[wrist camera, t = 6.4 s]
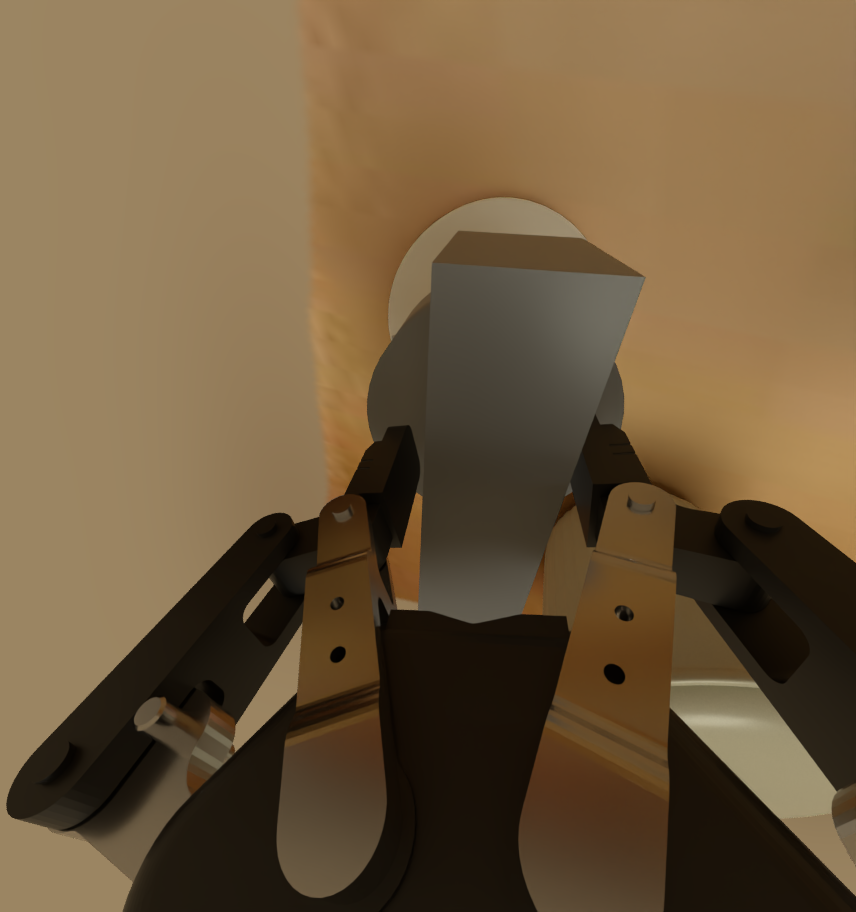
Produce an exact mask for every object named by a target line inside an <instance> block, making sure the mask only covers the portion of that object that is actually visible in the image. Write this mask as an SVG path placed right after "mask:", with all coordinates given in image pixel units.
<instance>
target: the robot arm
mask: <svg viewBox="0 0 856 912" xmlns="http://www.w3.org/2000/svg"><path fill="white" fill-rule="evenodd" d="M419 478H420V461H419V456H418V452H417V449H416V445H415V441H414V437H413V433H412V429H411V427H410V426H409V425H402V426H391V427H388V428H387V430H386V432H385V434H384V437H383V439H382V441H375V442H374V443H373V444H372V445H371V446H370V447H369V448H368V449H367V450H366V451H365V453H364V455H363V457H362V459H361V462H360V463H359V465H358V467H357V470H356V472H355V474H354V476H353V478H352V480H351V482H350V484H349V486H348V488H347V490H346V492H345V494H344V495H342V496H339V497H337V498H334V499H333V500H331V501H330V502H328V503H327V504H326V505H325V506H324V507H323V509H322V510H321V512H320V514H319V517H317V518H314V519H310V520H307V521H303V522H299V523H296V524H294V522H293V520H292V519H291V517H290V516H289V515H288V514H285V513H274V514H271V515H268V516H265V517H263V518H261V519H260V520H258V521H257V522H255V523H254V524H253V525H252V526H251V527H250V528H249V529H248V530H247V531H246V532H245V533H244V534H243V535H242V536H241V537H240V538H239V539H238V540H237V541H236V543H235V544H233V546H232V547H231V548H230V549H229V550H228V551H227V552H226V553H225V554H224V555H223V556H222V557H221V558H220V559H219V560H218V561H217V562H216V563H215V564H214V565H213V566H212V567H211V568H210V570H209V571H208V572H207V573H206V574H205V575H204V576H203V577H202V578H201V579H200V580H199V581H198V582H197V583H196V584H195V585H194V586H193V587H192V588H191V589H190V590H189V592H187V593H186V595H185V596H184V597H183V598H182V599H181V600H180V601H179V602H178V603H177V604H176V605H175V606H174V607H173V608H172V609H171V610H170V611H169V612H168V613H167V614H166V615H165V616H164V618H162V619H161V621H160V622H159V623H158V624H157V625H156V626H155V627H154V628H153V629H152V630H151V631H150V632H149V633H148V634H147V635H146V636H145V637H144V638H143V639H142V640H141V641H140V642H139V643H138V645H137V646H136V647H135V648H134V649H133V650H132V651H131V652H130V653H129V654H128V655H127V656H126V657H125V658H124V659H123V660H122V661H121V662H120V663H119V664H118V665H117V666H116V667H115V668H114V670H113V671H112V672H111V673H110V674H109V675H108V676H107V677H106V678H105V679H104V680H103V681H102V682H101V683H100V684H99V685H98V686H97V687H96V688H95V689H94V690H93V691H92V693H91V694H90V695H89V696H88V697H87V698H86V699H85V700H84V701H83V702H82V703H81V704H80V705H79V706H78V707H77V708H76V709H75V710H74V711H73V712H72V713H71V714H70V715H69V716H68V717H67V719H66V720H65V721H64V722H63V723H62V724H61V725H60V726H59V727H58V728H57V729H56V730H55V731H54V732H53V733H52V734H51V735H50V736H49V737H48V738H47V739H46V740H45V741H44V742H43V743H42V745H41V746H40V747H39V748H38V749H37V750H36V751H35V752H34V753H33V755H31V757H30V758H29V759H28V760H27V762H26V763H25V764H24V766H23V767H22V768H21V770H20V771H19V773H18V775H17V776H16V778H15V780H14V782H13V784H12V786H11V788H10V791H9V794H8V797H7V803H6V804H7V805H6V806H7V812H8V814H9V815H10V816H11V817H12V818H15V819H18V820H22V821H26V822H29V823H33V824H37V825H40V826H44V827H48V829H49V830H50V831H51V832H54V833H57V834H60V835H64V836H68V837H72V838H76V839H80V840H84V841H87V842H89V843H90V844H91V845H92V846H93V847H95V848H96V849H97V850H98V851H99V852H100V853H101V854H102V855H104V856H105V857H106V858H107V859H108V860H109V861H110V862H111V863H112V864H114V865H115V866H116V867H117V868H118V869H119V870H120V871H121V872H123V873H124V874H125V875H126V876H127V877H128V878H129V879H130V880H132V881H133V884H132V887H131V890H130V892H129V894H128V897H127V900H126V903H125V906H124V909H123V912H856V896H855V895H854V894H853V893H852V892H851V891H850V890H849V889H848V888H847V887H846V886H845V885H844V884H843V883H842V882H841V881H840V880H839V879H838V878H837V877H836V876H835V875H834V874H833V873H832V872H831V871H830V870H829V869H828V868H827V867H826V866H825V865H824V864H823V863H822V862H821V861H820V860H819V859H818V858H817V857H816V856H815V855H814V854H813V853H812V851H810V849H808V848H807V846H806V845H805V844H804V843H803V842H802V841H801V840H800V839H799V838H798V837H797V836H796V835H795V834H794V833H793V832H792V831H791V830H790V829H789V828H788V827H787V826H786V825H785V824H784V823H783V822H782V821H781V820H780V819H779V818H778V817H777V816H776V815H775V814H774V813H773V812H772V811H771V810H770V809H769V808H768V807H767V806H766V805H765V804H764V803H763V802H762V801H761V800H760V799H759V798H758V796H757V795H756V794H755V793H754V792H753V791H752V790H751V789H750V788H749V787H748V786H747V785H746V784H745V783H744V782H743V781H742V780H741V779H740V778H739V777H738V776H737V775H736V774H735V773H734V772H733V771H732V770H731V769H730V768H729V767H728V766H727V765H726V764H725V763H724V762H723V761H722V760H721V759H720V758H719V757H718V756H717V755H716V754H715V753H714V752H713V751H712V750H711V749H710V748H709V747H708V746H707V745H706V744H705V743H704V742H703V740H702V739H701V738H700V737H699V736H698V735H697V734H696V733H695V732H694V731H693V730H692V729H691V728H690V727H689V726H688V725H687V724H686V723H685V722H684V721H683V720H682V719H681V718H680V717H679V716H678V715H677V714H676V713H675V712H674V711H673V710H672V709H671V708H670V691H671V672H672V654H673V636H674V617H675V599H676V594H677V595H681V596H685V597H688V598H692V599H694V600H695V602H696V603H697V605H698V606H699V607H700V609H701V610H702V611H703V613H704V614H705V615H706V617H707V618H708V619H709V621H710V622H711V624H712V625H713V626H714V628H715V629H716V630H717V632H718V633H719V634H720V636H721V637H722V638H723V640H724V641H725V642H726V644H727V645H728V646H729V648H730V649H731V650H732V652H733V653H734V654H735V656H736V657H737V658H738V660H739V661H740V662H741V664H742V665H743V666H744V668H745V669H746V671H747V672H748V673H749V675H750V676H751V677H752V679H753V680H754V681H755V683H756V684H757V685H758V687H759V688H760V689H761V691H762V692H763V693H764V695H765V696H766V697H767V699H768V700H769V701H770V703H771V704H772V705H773V707H774V708H775V709H776V711H777V712H778V713H779V715H780V716H781V717H782V719H783V720H784V722H785V723H786V724H787V726H788V727H789V728H790V730H791V731H792V732H793V734H794V735H795V736H796V738H797V739H798V740H799V742H800V743H801V744H802V746H803V747H804V748H805V750H806V751H807V752H808V754H809V755H810V756H811V758H812V759H813V760H814V762H815V763H816V764H817V766H818V767H819V768H820V770H821V771H822V773H823V774H824V775H825V777H826V778H827V779H828V781H829V782H830V783H831V785H832V786H833V787H834V789H835V790H836V791H837V793H836V794H835V795H834V798H833V800H832V808H831V810H832V817H833V821H834V825H835V828H836V830H837V833H838V835H839V837H840V839H841V841H842V843H843V845H844V846H845V848H846V850H847V852H848V854H849V856H850V858H851V859H852V861H853V862H854V864H855V866H856V563H855V562H854V561H853V560H851V559H850V558H849V557H847V556H846V555H845V554H844V553H842V552H841V551H840V550H838V549H837V548H836V547H835V546H833V545H832V544H831V543H830V542H828V541H827V540H826V539H824V538H823V537H822V536H821V535H819V534H818V533H817V532H816V531H814V530H813V529H812V528H810V527H809V526H808V525H807V524H805V523H804V522H803V521H801V520H800V519H799V518H798V517H796V516H795V515H793V514H792V513H790V512H789V511H787V510H785V509H783V508H780V507H778V506H775V505H773V504H769V503H766V502H761V501H754V500H739V501H734V502H731V503H729V504H727V505H725V506H724V507H723V509H722V511H721V513H720V514H717V513H712V512H706V511H701V510H695V509H690V508H686V507H682V506H679V505H677V504H675V501H674V500H673V498H672V497H671V496H670V495H669V494H668V493H667V492H666V491H664V490H662V489H661V488H659V487H656V486H654V485H652V484H651V482H650V480H649V478H648V476H647V474H646V472H645V470H644V468H643V466H642V464H641V463H640V461H639V459H638V457H637V455H636V454H635V451H634V449H633V447H632V445H630V442H629V440H628V438H627V436H626V434H625V432H624V431H622V430H621V429H619V428H618V427H616V426H615V425H614V424H601V425H600V423H599V421H598V419H597V416H596V414H595V416H594V418H593V421H592V424H591V427H590V429H589V432H588V435H587V437H586V440H585V443H584V445H583V448H582V451H581V454H580V456H579V459H578V462H577V464H576V467H575V470H574V473H573V475H572V478H571V481H570V483H571V487H572V491H573V495H574V499H575V503H576V507H577V511H578V515H579V519H580V523H581V527H582V531H583V535H584V539H585V543H586V547H596V548H595V550H593V552H592V554H591V558H590V562H589V565H588V569H587V573H586V577H585V581H584V585H583V588H582V592H581V596H580V600H579V604H578V608H577V611H576V615H575V619H574V623H573V627H572V630H571V631H569V629H568V622H567V616H553V615H526V614H518V615H514V616H509V617H504V618H499V619H495V620H490V621H485V622H480V623H468V622H465V621H461V620H458V619H455V618H452V617H448V616H445V615H442V614H439V613H435V612H432V611H419V610H397V605H396V599H395V593H394V587H393V581H392V575H391V569H390V563H389V560H388V558H387V556H388V552H389V549H390V548H402V544H403V540H404V536H405V532H406V529H407V525H408V521H409V517H410V513H411V509H412V505H413V502H414V498H415V494H416V490H417V486H418V482H419ZM268 578H270V580H271V581H272V582H273V584H274V586H273V587H272V588H271V590H270V591H269V592H268V593H267V595H266V596H265V597H264V599H263V600H262V601H261V602H260V604H259V605H258V606H257V608H256V609H255V610H254V612H253V613H252V614H251V615H250V617H249V618H248V619H247V621H246V622H245V623H243V613H244V610H245V608H246V606H247V605H248V603H249V602H250V600H251V599H252V598H253V597H254V596H255V594H256V593H257V592H258V591H259V589H260V588H261V587H262V586H263V584H264V583H265V582H266V581H267V579H268ZM301 624H302V636H301V649H300V662H299V677H298V689H297V693H296V694H295V695H294V696H293V697H292V698H291V699H290V700H289V701H288V702H287V703H286V704H285V705H284V706H283V707H282V708H281V709H280V710H279V711H277V712H276V713H275V714H274V715H273V716H272V717H271V718H270V719H269V720H268V721H267V722H266V723H265V724H264V725H263V726H262V727H261V728H260V729H259V730H258V731H257V732H256V733H255V734H254V735H253V736H252V737H251V738H250V739H249V740H248V741H247V742H246V743H245V744H244V745H243V746H242V747H241V748H240V749H239V750H237V751H236V752H235V748H234V745H233V744H232V743H233V740H234V736H235V725H236V724H237V722H238V721H239V719H240V717H241V716H242V715H243V713H244V711H245V710H246V708H247V707H248V705H249V704H250V702H251V701H252V699H253V697H254V696H255V695H256V693H257V691H258V690H259V688H260V687H261V685H262V684H263V682H264V681H265V679H266V678H267V676H268V675H269V673H270V671H271V670H272V668H273V667H274V665H275V664H276V662H277V661H278V659H279V657H280V656H281V654H282V653H283V651H284V650H285V648H286V647H287V645H288V644H289V642H290V640H291V639H292V638H293V636H294V634H295V633H296V631H297V630H298V628H299V627H300V625H301Z"/></svg>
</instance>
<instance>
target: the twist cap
mask: <svg viewBox="0 0 856 912" xmlns="http://www.w3.org/2000/svg"><path fill="white" fill-rule="evenodd" d="M645 278H646V277H644V276H643V275H641V274H639V273H638V272H636V271H635V270H633V269H631V268H630V267H628V266H626V265H625V264H623V263H622V262H620V261H618V260H617V259H615V258H614V257H612V256H610V255H609V254H607V253H605V252H604V251H602V250H601V249H599V248H597V247H596V246H594V245H593V244H591V243H589V242H588V241H586V240H584V239H583V238H574V237H557V236H541V235H524V234H507V233H491V232H474V231H458V232H457V233H456V234H455V235H454V236H453V238H452V239H451V240H450V241H449V243H448V244H447V245H446V246H445V247H444V249H443V250H442V251H441V252H440V253H439V255H438V256H437V257H436V258H435V259H434V261H433V262H432V272H431V292H430V293H429V294H428V295H427V296H426V297H424V298H423V299H422V300H421V301H420V302H419V303H418V304H417V306H416V307H415V308H414V309H413V310H412V311H411V313H410V314H409V316H408V317H407V319H406V320H405V322H404V323H403V325H402V326H401V328H400V329H399V331H398V332H397V334H396V335H395V337H394V338H393V340H392V341H391V343H390V344H389V345H388V347H387V348H386V350H385V351H384V353H383V354H382V356H381V357H380V359H379V362H378V364H377V366H376V368H375V370H374V372H373V375H372V379H371V382H370V385H369V392H368V398H367V415H368V422H369V428H370V431H371V434H372V438H373V441H374V442H375V441H382V439H383V437H384V434H385V432H386V430H387V428H388V427H391V426H402V425H409V426H410V427H411V429H412V433H413V437H414V441H415V445H416V449H417V452H418V456H419V461H420V478H419V482H418V486H417V490H416V492H417V493H418V494H420V495H421V496H423V502H422V528H421V553H420V579H419V604H418V610H419V611H432V612H435V613H439V614H442V615H445V616H448V617H452V618H455V619H458V620H461V621H465V622H468V623H480V622H485V621H490V620H495V619H499V618H504V617H509V616H514V615H518V614H521V613H522V611H523V608H524V605H525V603H526V600H527V597H528V594H529V592H530V589H531V586H532V584H533V581H534V578H535V576H536V573H537V570H538V567H539V565H540V562H541V559H542V557H543V554H544V551H545V548H546V546H547V543H548V540H549V538H550V535H551V532H552V529H553V527H554V524H555V521H556V519H557V516H558V513H559V511H560V508H561V505H562V502H563V500H564V497H565V496H567V495H568V494H570V493H571V492H573V491H572V487H571V483H570V481H571V478H572V475H573V473H574V470H575V467H576V464H577V462H578V459H579V456H580V454H581V451H582V448H583V445H584V443H585V440H586V437H587V435H588V432H589V429H590V427H591V424H592V421H593V418H594V416H595V414H596V416H597V419H598V421H599V423H600V425H601V424H614V425H615V426H616V427H618V428H619V429H621V425H622V420H623V414H624V393H623V386H622V380H621V377H620V374H619V371H618V368H617V365H616V363H615V359H616V356H617V353H618V351H619V348H620V345H621V343H622V340H623V337H624V334H625V332H626V329H627V326H628V324H629V321H630V318H631V315H632V313H633V310H634V307H635V305H636V302H637V299H638V297H639V294H640V291H641V288H642V286H643V283H644V280H645Z"/></svg>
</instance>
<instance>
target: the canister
mask: <svg viewBox="0 0 856 912" xmlns="http://www.w3.org/2000/svg"><path fill="white" fill-rule="evenodd" d="M669 495H670V496H671V497H672V498H673V500H674V501H675V504H677V505H679V506H682V507H686V508H690V509H695V510H701V509H699V508H697V507H696V506H694V505H693V504H691V503H690V502H688V501H686V500H684V499H681V498H678V497H676V496H675V495H672V494H669ZM701 511H702V510H701ZM595 548H596V547H586V543H585V539H584V535H583V531H582V527H581V523H580V519H579V515H578V511H577V507H576V505H575V506H574V507H573V508H572V509H571V510H570V511H567V512H566V513H565V514H564V516H563V517H562V518H560V519H559V520H558V521H557V523H556V525H555V526H554V527H553V529H552V532H551V535H550V538H549V540H548V543H547V546H546V552H545V560H544V583H543V615H553V616H567V622H568V629H569V631H571V630H572V627H573V623H574V619H575V615H576V611H577V608H578V604H579V600H580V596H581V592H582V588H583V585H584V581H585V577H586V573H587V569H588V565H589V562H590V558H591V554H592V552H593V550H595ZM670 708H671V709H672V710H673V711H674V712H675V713H676V714H677V715H678V716H679V717H680V718H681V719H682V720H683V721H684V722H685V723H686V724H687V725H688V726H689V727H690V728H691V729H692V730H693V731H694V732H695V733H696V734H697V735H698V736H699V737H700V738H701V739H702V740H703V742H704V743H705V744H706V745H707V746H708V747H709V748H710V749H711V750H712V751H713V752H714V753H715V754H716V755H717V756H718V757H719V758H720V759H721V760H722V761H723V762H724V763H725V764H726V765H727V766H728V767H729V768H730V769H731V770H732V771H733V772H734V773H735V774H736V775H737V776H738V777H739V778H740V779H741V780H742V781H743V782H744V783H745V784H746V785H747V786H748V787H749V788H750V789H751V790H752V791H753V792H754V793H755V794H756V795H757V796H758V798H759V799H760V800H761V801H762V802H763V803H764V804H765V805H766V806H767V807H768V808H769V809H770V810H771V811H772V812H773V813H774V814H775V815H776V816H777V817H778V818H796V817H807V816H816V815H823V814H830V813H832V810H831V808H832V800H833V798H834V795H835V794H836V793H837V791H836V790H835V789H834V787H833V786H832V785H831V783H830V782H829V781H828V779H827V778H826V777H825V775H824V774H823V773H822V771H821V770H820V768H819V767H818V766H817V764H816V763H815V762H814V760H813V759H812V758H811V756H810V755H809V754H808V752H807V751H806V750H805V748H804V747H803V746H802V744H801V743H800V742H799V740H798V739H797V738H796V736H795V735H794V734H793V732H792V731H791V730H790V728H789V727H788V726H787V724H786V723H785V722H784V720H783V719H782V717H781V716H780V715H779V713H778V712H777V711H776V709H775V708H774V707H773V705H772V704H771V703H770V701H769V700H768V699H767V697H766V696H765V695H764V693H763V692H762V691H761V689H760V688H759V687H758V685H757V684H756V683H755V681H754V680H753V679H752V677H751V676H750V675H749V673H748V672H747V671H746V669H745V668H744V666H743V665H742V664H741V662H740V661H739V660H738V658H737V657H736V656H735V654H734V653H733V652H732V650H731V649H730V648H729V646H728V645H727V644H726V642H725V641H724V640H723V638H722V637H721V636H720V634H719V633H718V632H717V630H716V629H715V628H714V626H713V625H712V624H711V622H710V621H709V619H708V618H707V617H706V615H705V614H704V613H703V611H702V610H701V609H700V607H699V606H698V605H697V603H696V602H695V600H694V599H692V598H688V597H685V596H681V595H677V594H676V599H675V617H674V636H673V654H672V672H671V691H670Z"/></svg>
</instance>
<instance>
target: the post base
mask: <svg viewBox="0 0 856 912" xmlns="http://www.w3.org/2000/svg"><path fill="white" fill-rule="evenodd" d="M458 231H474V232H491V233H507V234H524V235H541V236H557V237H574V238H583V239H584V240H586V238H585V237H584V236H583V235H582V233H581V232H580V231H579V230H578V229H577V228H576V227H575V226H574V225H573V224H572V223H571V222H569V221H568V220H567V219H566V218H564V217H563V216H562V215H560V214H559V213H557V212H555V211H553V210H551V209H549V208H548V207H546V206H543V205H541V204H538V203H535V202H532V201H529V200H525V199H519V198H514V197H494V198H488V199H481V200H478V201H475V202H471V203H468V204H465V205H463V206H461V207H459V208H457V209H455V210H453V211H451V212H449V213H448V214H446V215H445V216H443V217H442V218H440V219H439V220H437V221H436V222H434V223H433V224H432V225H431V226H430V227H429V228H428V229H426V230H425V231H424V232H423V233H422V234H421V235H420V236H419V238H418V239H417V240H416V241H415V242H414V243H413V245H412V246H411V247H410V249H409V250H408V252H407V253H406V255H405V257H404V258H403V260H402V262H401V264H400V266H399V268H398V270H397V272H396V275H395V278H394V281H393V285H392V288H391V293H390V298H389V307H388V324H389V333H390V338H391V341H392V340H393V338H394V337H395V335H396V334H397V332H398V331H399V329H400V328H401V326H402V325H403V323H404V322H405V320H406V319H407V317H408V316H409V314H410V313H411V311H412V310H413V309H414V308H415V307H416V306H417V304H418V303H419V302H420V301H421V300H422V299H423V298H424V297H426V296H427V295H428V294H429V293H430V292H431V272H432V262H433V261H434V259H435V258H436V257H437V256H438V255H439V253H440V252H441V251H442V250H443V249H444V247H445V246H446V245H447V244H448V243H449V241H450V240H451V239H452V238H453V236H454V235H455V234H456V233H457V232H458ZM586 241H587V240H586Z"/></svg>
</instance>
